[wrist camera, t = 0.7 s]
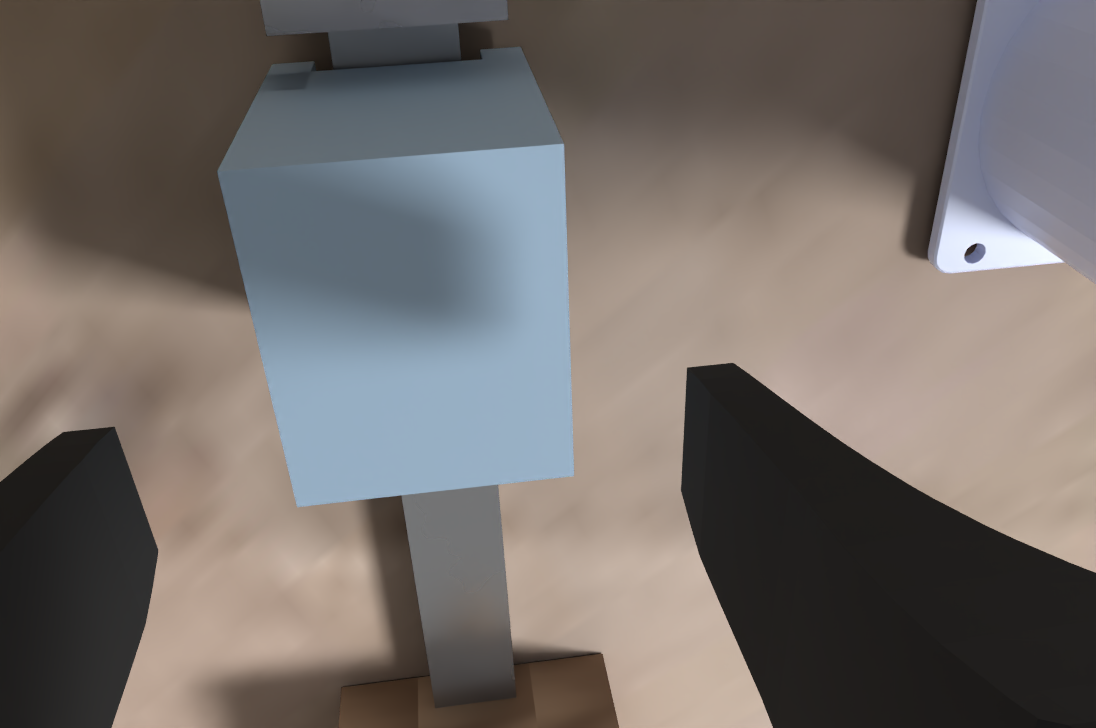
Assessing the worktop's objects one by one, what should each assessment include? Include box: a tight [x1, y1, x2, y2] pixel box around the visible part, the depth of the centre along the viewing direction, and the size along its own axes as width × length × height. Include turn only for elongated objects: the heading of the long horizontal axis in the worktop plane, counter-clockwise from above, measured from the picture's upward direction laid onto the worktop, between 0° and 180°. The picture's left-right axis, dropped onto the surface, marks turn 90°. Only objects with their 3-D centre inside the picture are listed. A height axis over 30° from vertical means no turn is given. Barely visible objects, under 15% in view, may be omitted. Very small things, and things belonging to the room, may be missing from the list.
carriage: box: [217, 47, 574, 507], centre depth 17 cm, size 5×6×6 cm
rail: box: [260, 0, 516, 708], centre depth 21 cm, size 4×20×3 cm, turn 2°
